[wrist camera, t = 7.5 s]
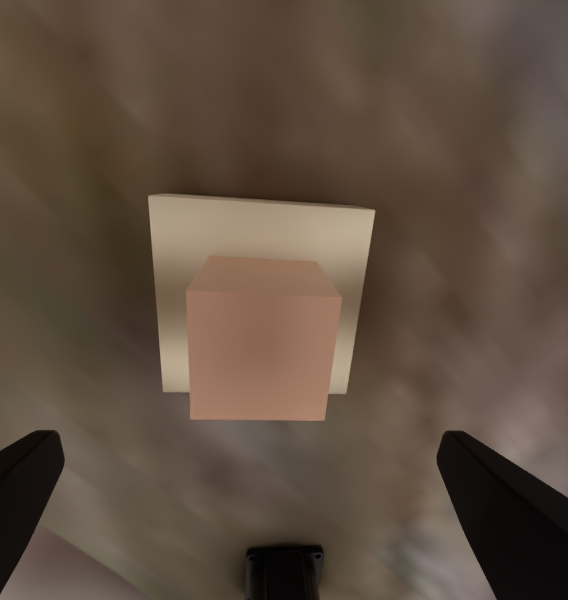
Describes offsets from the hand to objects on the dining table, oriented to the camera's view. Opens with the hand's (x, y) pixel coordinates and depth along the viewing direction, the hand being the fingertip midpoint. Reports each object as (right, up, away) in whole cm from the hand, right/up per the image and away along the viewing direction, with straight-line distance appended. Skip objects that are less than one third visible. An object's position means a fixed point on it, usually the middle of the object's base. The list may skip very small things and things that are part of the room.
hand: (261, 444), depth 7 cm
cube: (-1, +3, +8) cm, 9 cm away
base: (-1, +4, +11) cm, 12 cm away
